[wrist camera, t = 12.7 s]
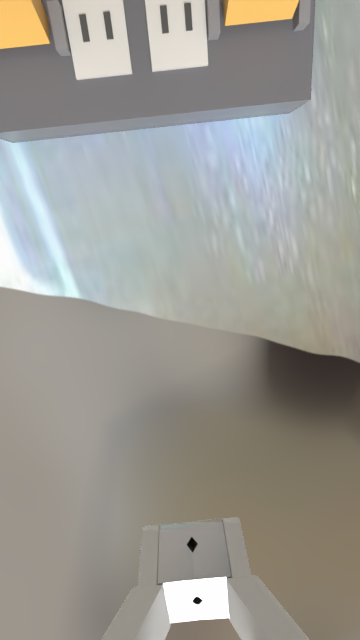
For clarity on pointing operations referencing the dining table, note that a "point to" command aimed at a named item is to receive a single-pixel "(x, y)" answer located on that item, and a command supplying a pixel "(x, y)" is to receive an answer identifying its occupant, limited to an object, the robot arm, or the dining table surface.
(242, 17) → the switch
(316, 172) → the dining table surface
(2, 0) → the switch
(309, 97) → the power box
